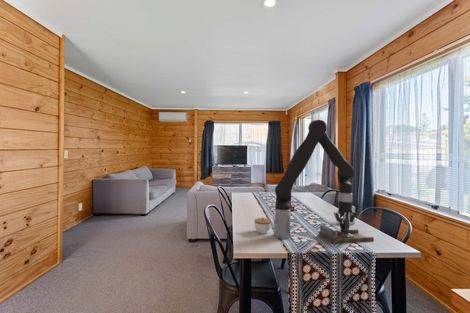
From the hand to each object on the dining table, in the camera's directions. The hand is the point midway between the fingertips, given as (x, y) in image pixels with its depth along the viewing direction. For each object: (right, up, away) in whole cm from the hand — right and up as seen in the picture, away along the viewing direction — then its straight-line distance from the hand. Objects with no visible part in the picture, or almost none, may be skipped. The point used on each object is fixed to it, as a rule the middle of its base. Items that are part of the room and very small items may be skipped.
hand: (344, 229), depth 140 cm
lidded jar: (-47, -6, +13) cm, 49 cm away
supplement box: (+18, -6, +35) cm, 40 cm away
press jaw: (0, -5, 0) cm, 5 cm away
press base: (0, -7, 0) cm, 7 cm away
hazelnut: (-7, -5, -1) cm, 9 cm away
